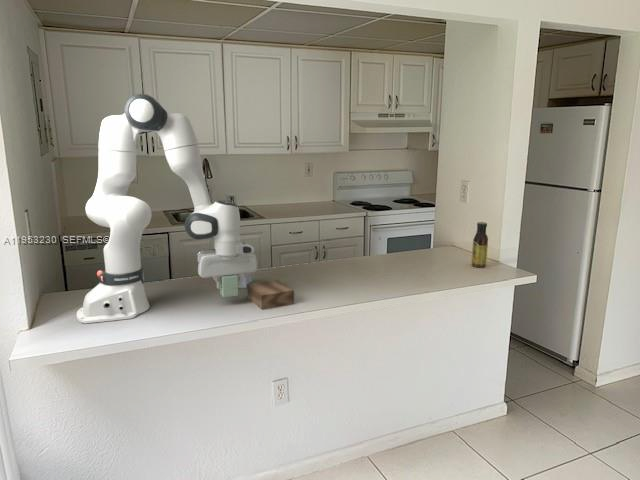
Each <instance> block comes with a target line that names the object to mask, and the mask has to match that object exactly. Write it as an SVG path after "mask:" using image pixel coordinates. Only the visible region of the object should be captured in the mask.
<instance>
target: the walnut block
mask: <svg viewBox="0 0 640 480" xmlns="http://www.w3.org/2000/svg"><path fill="white" fill-rule="evenodd" d="M246 290H247V291H246V293H247V298H248V299H249V300H250V301H251V302H252V303H253V304H254V305H256V306H257V307H258V308H259V309H261V310H267V309H273V308H276V307H277V308H279V307H284V306H289V305H293V304H295V290H294V289H293V288H291V287H290V286H288V285H287V284H285V283H284V282H282V281H281V280H279V279H278V278H277V279H272V280H265V281H259V282H253V283H252V284H247V288H246Z"/></svg>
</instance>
